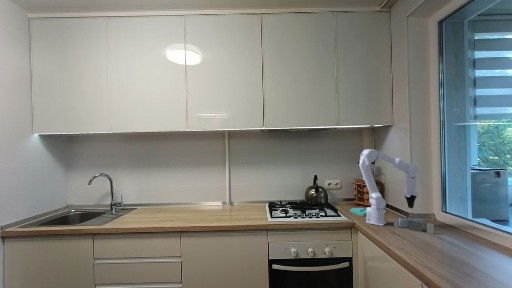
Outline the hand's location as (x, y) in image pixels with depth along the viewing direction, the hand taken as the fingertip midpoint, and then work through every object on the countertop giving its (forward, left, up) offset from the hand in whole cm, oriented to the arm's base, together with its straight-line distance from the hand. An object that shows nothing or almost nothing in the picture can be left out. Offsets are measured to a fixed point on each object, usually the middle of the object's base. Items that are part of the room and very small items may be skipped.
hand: (410, 207), depth 159 cm
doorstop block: (+5, -11, -10) cm, 15 cm away
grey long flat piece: (+4, -12, -9) cm, 16 cm away
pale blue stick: (+2, -8, -9) cm, 12 cm away
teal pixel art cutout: (-29, +10, -10) cm, 32 cm away
